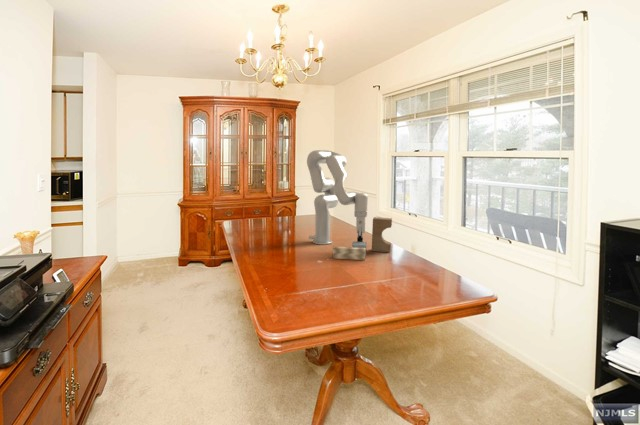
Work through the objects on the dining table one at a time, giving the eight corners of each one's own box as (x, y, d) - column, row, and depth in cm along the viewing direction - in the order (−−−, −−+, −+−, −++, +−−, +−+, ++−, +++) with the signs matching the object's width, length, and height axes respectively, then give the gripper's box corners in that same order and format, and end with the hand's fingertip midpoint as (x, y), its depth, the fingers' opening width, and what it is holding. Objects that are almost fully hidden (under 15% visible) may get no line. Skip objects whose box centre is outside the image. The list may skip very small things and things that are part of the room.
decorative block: (390, 250, 221) (392, 218, 218) (390, 252, 215) (391, 219, 212) (372, 248, 224) (373, 217, 221) (371, 251, 218) (372, 218, 215)
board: (332, 258, 203) (332, 247, 202) (333, 256, 206) (333, 246, 205) (365, 260, 200) (365, 249, 199) (365, 258, 203) (365, 248, 202)
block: (351, 254, 210) (352, 244, 209) (352, 251, 218) (352, 241, 217) (365, 255, 209) (366, 245, 208) (366, 251, 217) (366, 242, 216)
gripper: (366, 216, 208) (365, 247, 211) (367, 212, 222) (366, 241, 225) (353, 215, 209) (352, 246, 212) (355, 211, 224) (354, 240, 226)
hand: (359, 243), depth 219 cm, fingers closed
